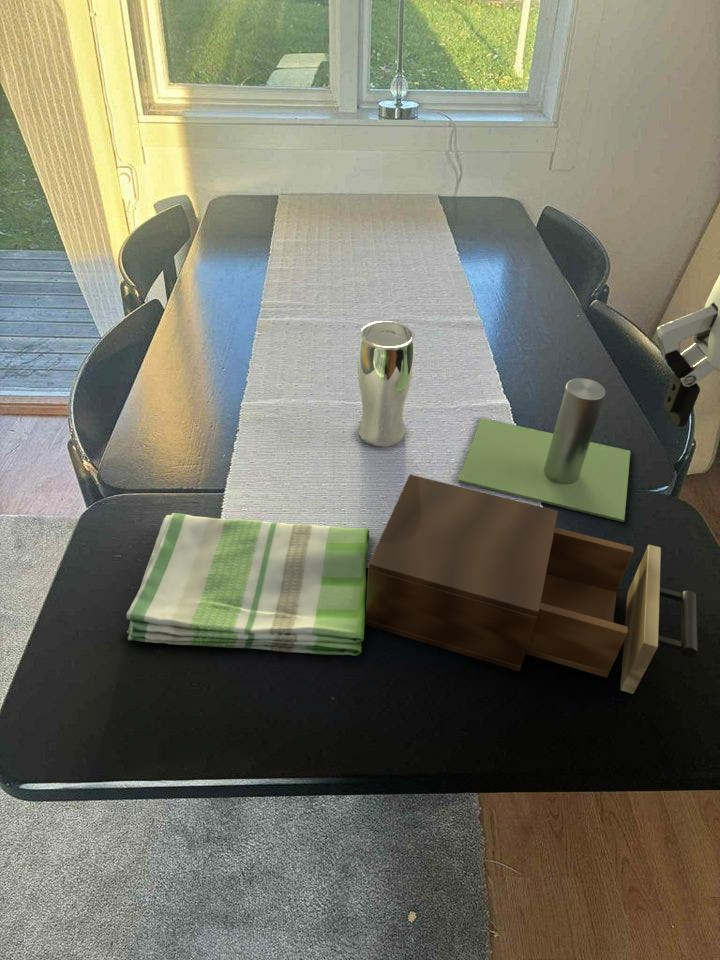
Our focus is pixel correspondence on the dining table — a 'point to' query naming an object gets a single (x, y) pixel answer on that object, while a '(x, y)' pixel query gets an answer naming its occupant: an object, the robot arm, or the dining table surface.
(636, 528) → the dining table surface
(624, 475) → the placemat
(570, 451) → the silver metal cylinder
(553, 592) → the drawer
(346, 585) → the dish towel
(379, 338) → the beer glass
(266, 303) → the dining table surface
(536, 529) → the cabinet
